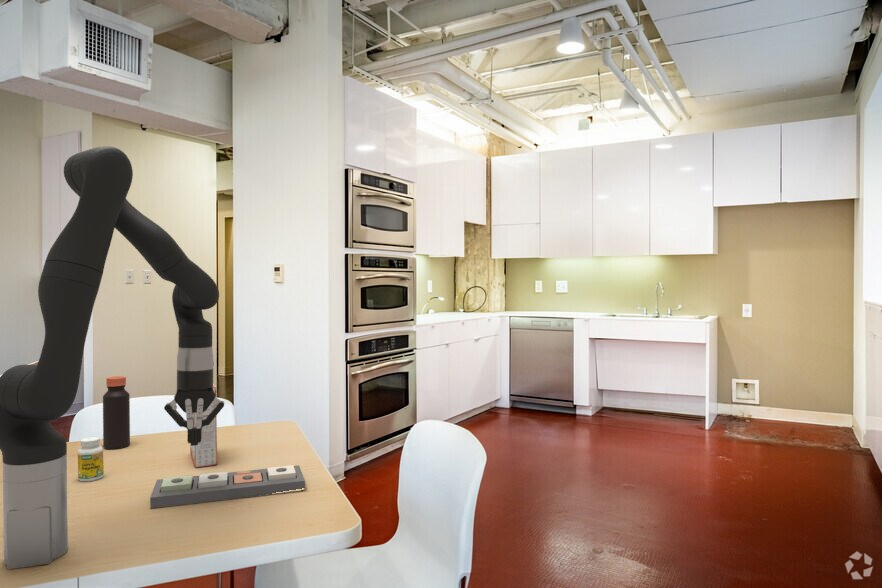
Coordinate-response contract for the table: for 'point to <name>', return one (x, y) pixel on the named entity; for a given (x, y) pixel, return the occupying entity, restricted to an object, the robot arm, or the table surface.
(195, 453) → the cracker box
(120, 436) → the vinegar
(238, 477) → the key terracotta
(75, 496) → the table surface
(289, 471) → the key cream
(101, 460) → the supplement bottle
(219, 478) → the key white
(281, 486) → the grey flat board
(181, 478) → the key sage
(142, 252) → the robot arm
